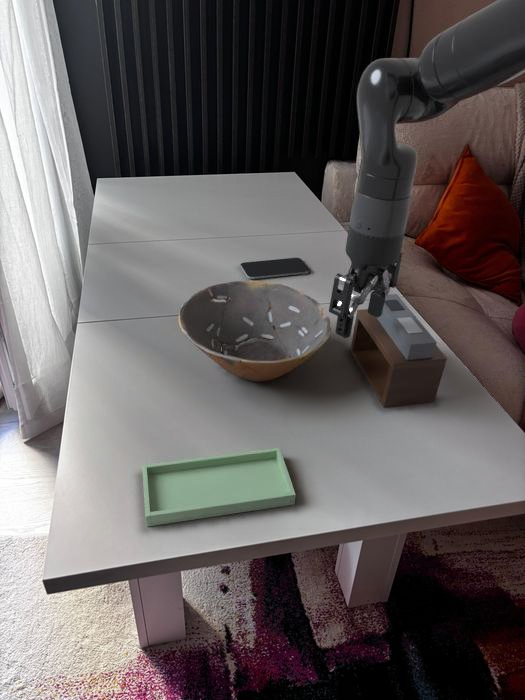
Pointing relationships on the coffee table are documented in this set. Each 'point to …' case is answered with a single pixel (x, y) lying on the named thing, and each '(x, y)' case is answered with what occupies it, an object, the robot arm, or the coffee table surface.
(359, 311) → the brown wooden open box
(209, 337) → the bowl
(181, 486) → the tray
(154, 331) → the coffee table surface
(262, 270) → the smartphone
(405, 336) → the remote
